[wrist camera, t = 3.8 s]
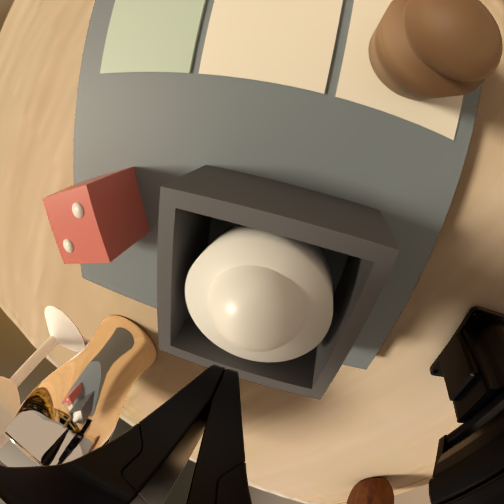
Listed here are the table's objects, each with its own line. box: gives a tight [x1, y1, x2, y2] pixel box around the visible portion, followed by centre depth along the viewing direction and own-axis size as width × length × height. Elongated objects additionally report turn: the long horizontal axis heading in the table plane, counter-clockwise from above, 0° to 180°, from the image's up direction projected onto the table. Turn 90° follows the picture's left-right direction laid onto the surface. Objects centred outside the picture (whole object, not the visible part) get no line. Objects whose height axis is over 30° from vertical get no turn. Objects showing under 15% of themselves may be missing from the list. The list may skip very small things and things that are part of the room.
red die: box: [43, 167, 150, 264], centre depth 15 cm, size 4×4×4 cm
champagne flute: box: [0, 306, 85, 448], centre depth 17 cm, size 7×7×24 cm
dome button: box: [185, 224, 333, 362], centre depth 13 cm, size 6×6×4 cm
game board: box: [73, 0, 482, 399], centre depth 12 cm, size 22×22×6 cm
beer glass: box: [3, 315, 156, 466], centre depth 18 cm, size 7×7×15 cm
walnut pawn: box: [368, 0, 502, 100], centre depth 6 cm, size 4×4×7 cm
